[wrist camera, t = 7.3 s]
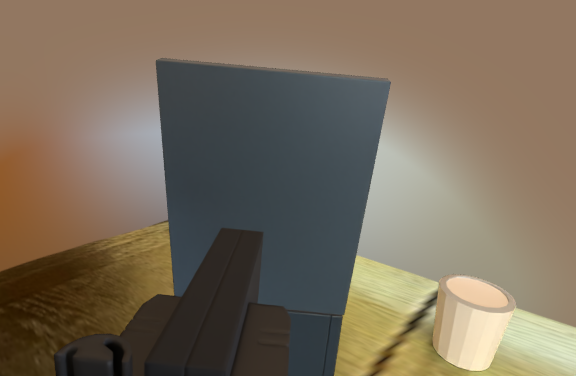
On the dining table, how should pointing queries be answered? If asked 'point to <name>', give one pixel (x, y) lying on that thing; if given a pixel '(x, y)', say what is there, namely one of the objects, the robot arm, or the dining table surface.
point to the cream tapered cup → (470, 320)
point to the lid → (270, 171)
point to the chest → (313, 343)
